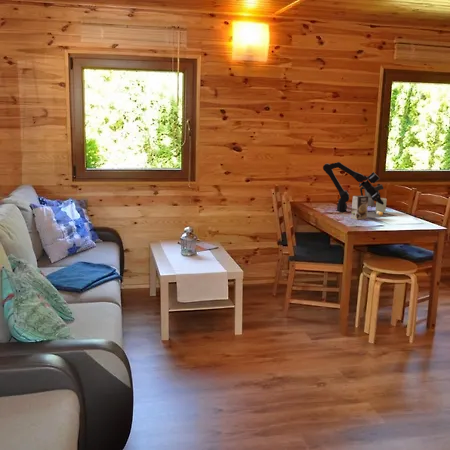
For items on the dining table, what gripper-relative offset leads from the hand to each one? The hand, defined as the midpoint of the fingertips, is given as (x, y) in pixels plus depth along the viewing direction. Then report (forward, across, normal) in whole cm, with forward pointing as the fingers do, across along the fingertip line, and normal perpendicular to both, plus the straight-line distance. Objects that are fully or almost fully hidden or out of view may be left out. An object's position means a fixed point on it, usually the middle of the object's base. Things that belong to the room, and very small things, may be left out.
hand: (383, 203), depth 385 cm
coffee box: (-6, -26, +18) cm, 32 cm away
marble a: (+2, -8, +6) cm, 11 cm away
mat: (+3, -6, +9) cm, 11 cm away
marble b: (+3, -12, +5) cm, 13 cm away
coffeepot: (-1, +36, +13) cm, 38 cm away
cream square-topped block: (+3, 0, +5) cm, 6 cm away
